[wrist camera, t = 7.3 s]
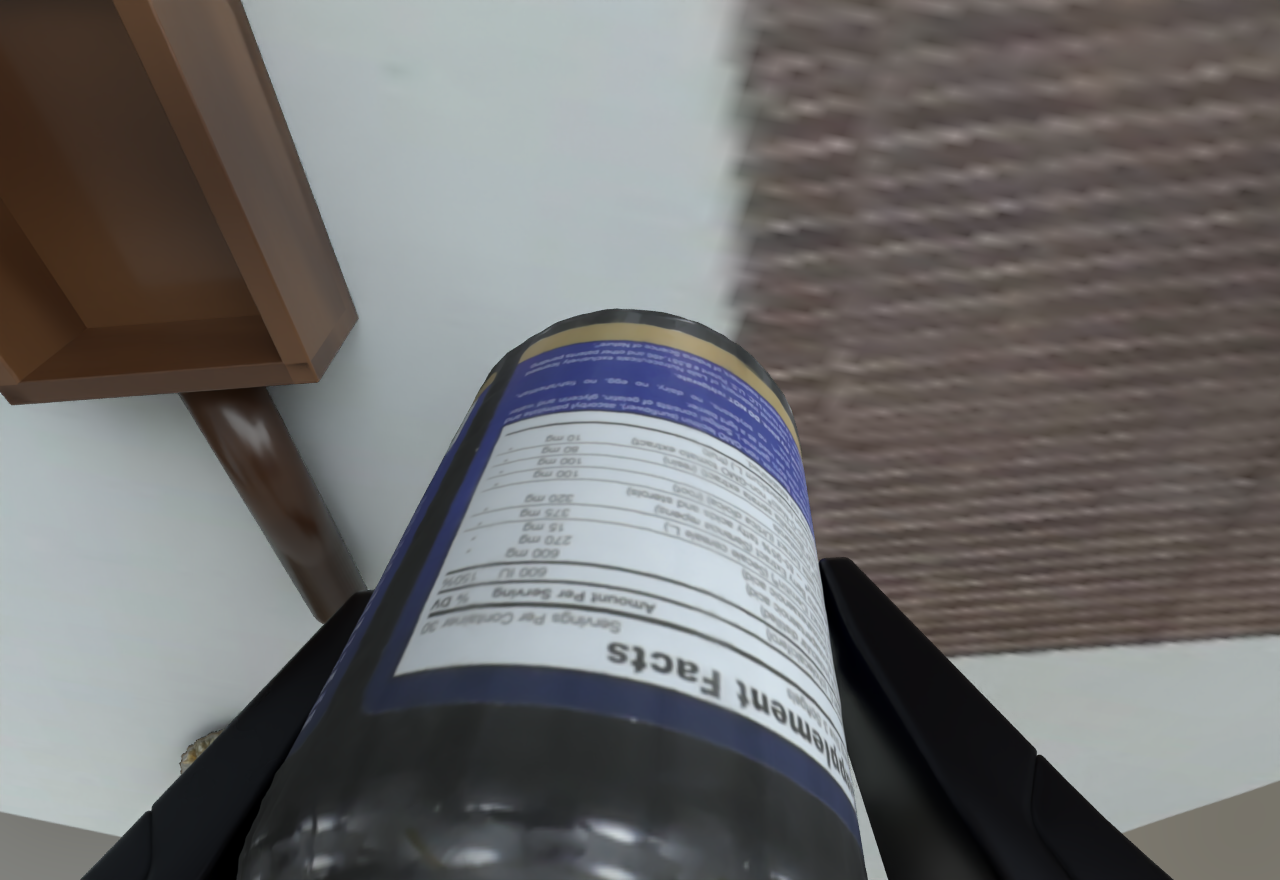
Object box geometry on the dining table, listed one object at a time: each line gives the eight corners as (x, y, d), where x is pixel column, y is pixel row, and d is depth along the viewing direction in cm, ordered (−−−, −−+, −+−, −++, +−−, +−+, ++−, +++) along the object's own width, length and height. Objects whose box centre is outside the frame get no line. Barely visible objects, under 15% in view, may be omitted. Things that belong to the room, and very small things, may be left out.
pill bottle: (629, 588, 15) (506, 1444, 7) (415, 422, 13) (-204, 1424, 4) (866, 461, 12) (1186, 1685, 4) (647, 216, 10) (164, 2041, 1)
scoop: (456, 580, 24) (439, 654, 21) (261, 594, 24) (223, 669, 21) (215, -74, 12) (118, -71, 10) (-160, -41, 12) (-343, -29, 10)
